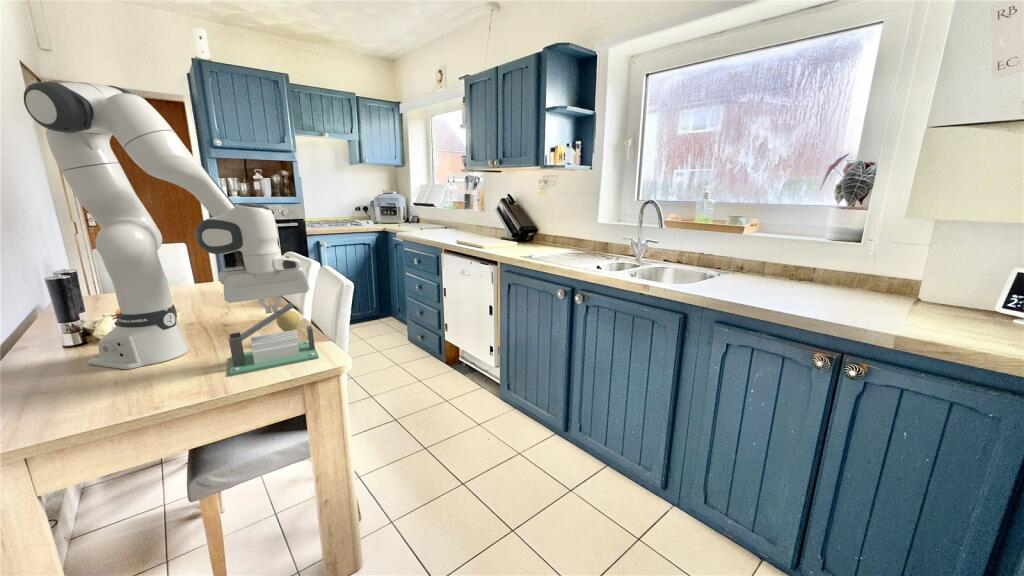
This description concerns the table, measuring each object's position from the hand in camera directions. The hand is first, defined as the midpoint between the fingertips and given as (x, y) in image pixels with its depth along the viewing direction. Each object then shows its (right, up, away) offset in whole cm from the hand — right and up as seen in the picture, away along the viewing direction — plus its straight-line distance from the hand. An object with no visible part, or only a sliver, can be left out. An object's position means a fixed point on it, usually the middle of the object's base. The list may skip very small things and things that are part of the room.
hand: (272, 312), depth 112 cm
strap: (-2, -3, 0) cm, 4 cm away
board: (-1, -13, +3) cm, 14 cm away
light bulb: (-3, -10, +16) cm, 19 cm away
